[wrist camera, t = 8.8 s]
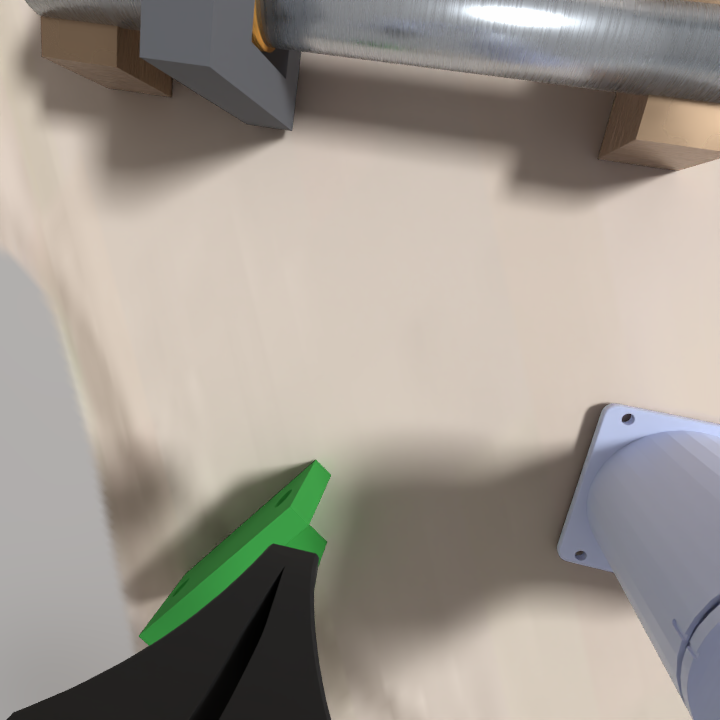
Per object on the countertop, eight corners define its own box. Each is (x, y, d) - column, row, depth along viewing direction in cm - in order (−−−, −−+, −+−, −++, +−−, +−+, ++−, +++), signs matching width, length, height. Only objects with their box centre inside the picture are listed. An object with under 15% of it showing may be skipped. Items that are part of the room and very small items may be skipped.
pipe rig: (727, 21, 16) (845, -68, 12) (677, 170, 18) (766, 144, 13) (110, -46, 19) (2, -142, 14) (108, 87, 20) (9, 41, 16)
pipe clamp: (233, 615, 27) (192, 688, 23) (187, 571, 27) (137, 636, 22) (367, 508, 24) (351, 570, 19) (317, 457, 23) (288, 507, 19)
